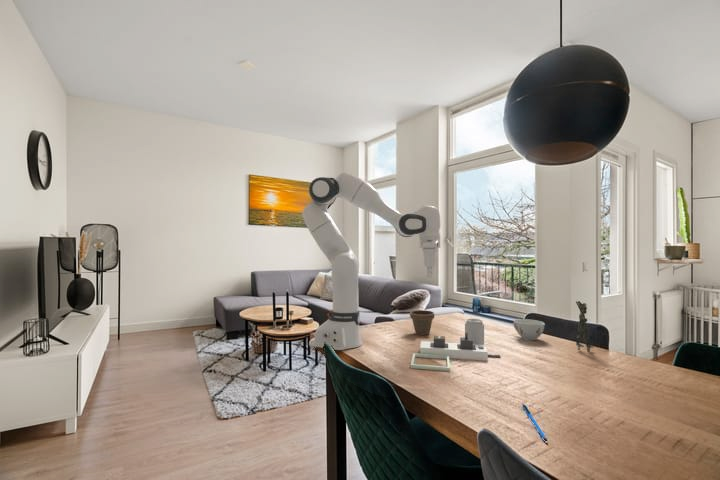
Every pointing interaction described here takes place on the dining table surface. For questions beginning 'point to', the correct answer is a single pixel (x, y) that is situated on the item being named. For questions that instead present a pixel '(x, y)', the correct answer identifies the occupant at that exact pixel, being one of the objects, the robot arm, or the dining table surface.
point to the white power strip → (456, 351)
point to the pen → (534, 422)
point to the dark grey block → (439, 341)
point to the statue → (582, 326)
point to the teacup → (529, 328)
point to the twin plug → (466, 342)
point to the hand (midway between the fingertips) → (429, 276)
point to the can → (475, 330)
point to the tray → (429, 365)
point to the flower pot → (422, 321)
